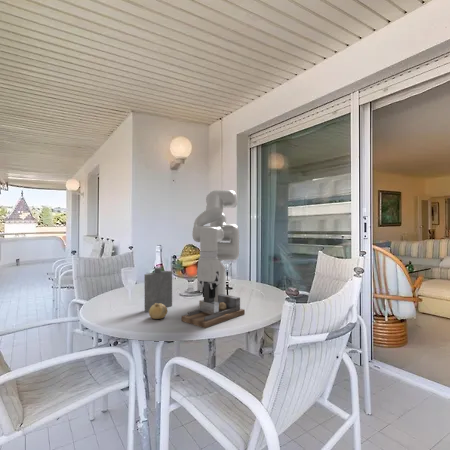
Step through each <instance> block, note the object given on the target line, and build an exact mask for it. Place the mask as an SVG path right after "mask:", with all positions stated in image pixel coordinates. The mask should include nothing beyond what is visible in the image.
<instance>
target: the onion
mask: <svg viewBox="0 0 450 450" xmlns="http://www.w3.org/2000/svg"><path fill="white" fill-rule="evenodd" d="M148 314H149V316H150V318H151V319H153V320H159V319H164V318H165V317H166V315H167V314H168V307H166V306H165V305H163V304H162V303H155V304H154V305H152V306H151V308H150V309H149V312H148Z"/></svg>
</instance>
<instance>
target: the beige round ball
mask: <svg viewBox="0 0 450 450" xmlns="http://www.w3.org/2000/svg"><path fill="white" fill-rule="evenodd" d="M219 309H220V310H225V309H226V304H225V303H224V302H221V303H220V304H219Z"/></svg>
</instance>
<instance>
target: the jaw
mask: <svg viewBox="0 0 450 450" xmlns="http://www.w3.org/2000/svg"><path fill="white" fill-rule="evenodd" d="M209 289H210V283H209V282H208V283H204V297H203V299H201V300H199V301H198V302H199V304H198V305H199V307H198V309H199V311H201V312H205V313H209V314H216V313H219V303H218V302H214V298H211V299H210V298H209Z"/></svg>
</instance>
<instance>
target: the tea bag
mask: <svg viewBox="0 0 450 450" xmlns="http://www.w3.org/2000/svg"><path fill="white" fill-rule="evenodd" d="M196 285H197V287H196V288H197V289H196V290H197V292H201V293H203V288H202V287H201V286H202V285H201V284H200V282H199V281H198V280H197V283H196Z"/></svg>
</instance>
